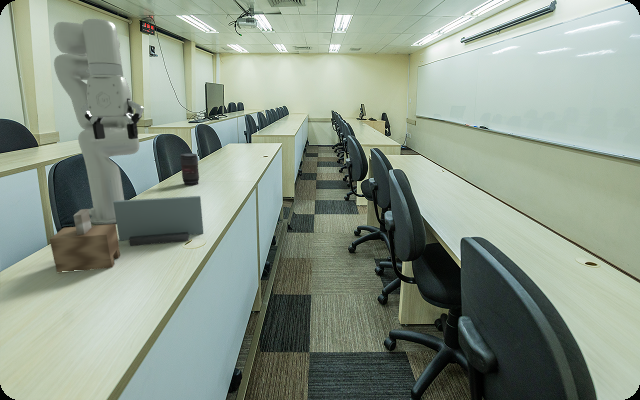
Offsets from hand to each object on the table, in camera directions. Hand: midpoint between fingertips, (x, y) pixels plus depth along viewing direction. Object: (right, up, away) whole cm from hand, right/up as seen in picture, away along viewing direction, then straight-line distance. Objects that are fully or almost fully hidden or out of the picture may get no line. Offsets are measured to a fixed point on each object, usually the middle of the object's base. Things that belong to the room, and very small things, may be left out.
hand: (116, 138), depth 96 cm
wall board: (+7, -28, +13) cm, 32 cm away
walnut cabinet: (-4, -33, -5) cm, 34 cm away
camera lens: (-10, -9, +82) cm, 83 cm away
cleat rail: (+8, -29, +9) cm, 32 cm away
